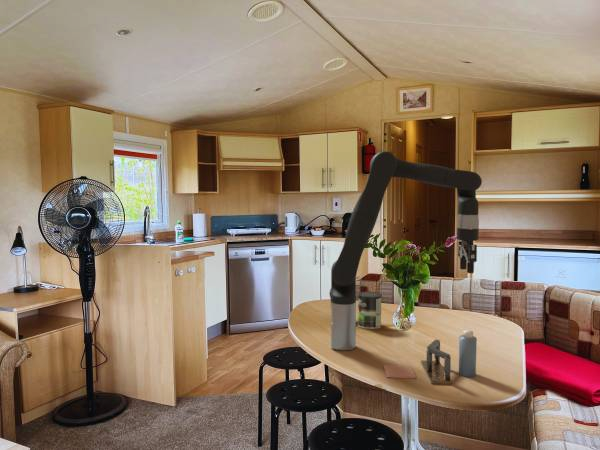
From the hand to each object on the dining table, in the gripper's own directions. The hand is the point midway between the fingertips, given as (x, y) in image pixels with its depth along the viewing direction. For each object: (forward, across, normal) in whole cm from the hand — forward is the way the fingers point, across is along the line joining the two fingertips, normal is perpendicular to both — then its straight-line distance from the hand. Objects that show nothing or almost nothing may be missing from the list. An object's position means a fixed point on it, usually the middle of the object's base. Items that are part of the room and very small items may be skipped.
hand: (466, 271), depth 171 cm
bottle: (+30, +24, -6) cm, 38 cm away
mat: (+30, +23, -28) cm, 46 cm away
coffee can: (+29, -29, -32) cm, 52 cm away
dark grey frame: (+30, +23, -16) cm, 41 cm away
